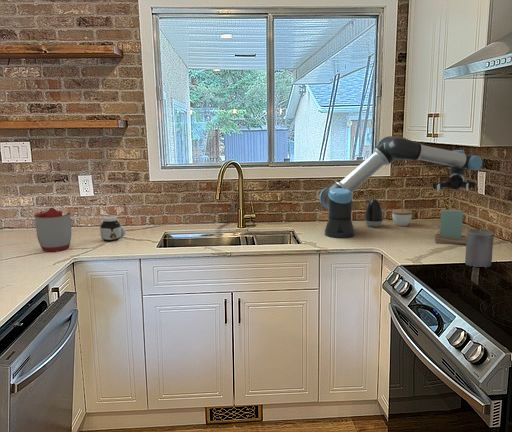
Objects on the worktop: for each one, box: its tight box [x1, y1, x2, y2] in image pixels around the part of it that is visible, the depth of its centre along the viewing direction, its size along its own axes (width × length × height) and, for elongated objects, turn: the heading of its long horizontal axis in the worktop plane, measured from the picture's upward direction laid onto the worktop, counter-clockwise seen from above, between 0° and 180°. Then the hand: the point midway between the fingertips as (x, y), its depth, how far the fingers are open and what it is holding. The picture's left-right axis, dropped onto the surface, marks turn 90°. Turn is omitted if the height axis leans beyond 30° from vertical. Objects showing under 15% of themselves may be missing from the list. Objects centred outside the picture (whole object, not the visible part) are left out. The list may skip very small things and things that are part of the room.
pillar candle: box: [464, 228, 495, 269], centre depth 190 cm, size 10×10×15 cm
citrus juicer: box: [33, 207, 73, 253], centre depth 223 cm, size 16×17×20 cm
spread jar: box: [99, 215, 127, 243], centre depth 242 cm, size 12×11×12 cm
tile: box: [439, 209, 464, 237], centre depth 236 cm, size 2×10×13 cm, turn 70°
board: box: [434, 233, 467, 246], centre depth 232 cm, size 18×14×1 cm
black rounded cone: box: [363, 198, 384, 228], centre depth 264 cm, size 10×10×15 cm
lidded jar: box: [391, 208, 413, 227], centre depth 267 cm, size 11×11×9 cm
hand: (452, 188), depth 238 cm, fingers open, 13 cm apart
